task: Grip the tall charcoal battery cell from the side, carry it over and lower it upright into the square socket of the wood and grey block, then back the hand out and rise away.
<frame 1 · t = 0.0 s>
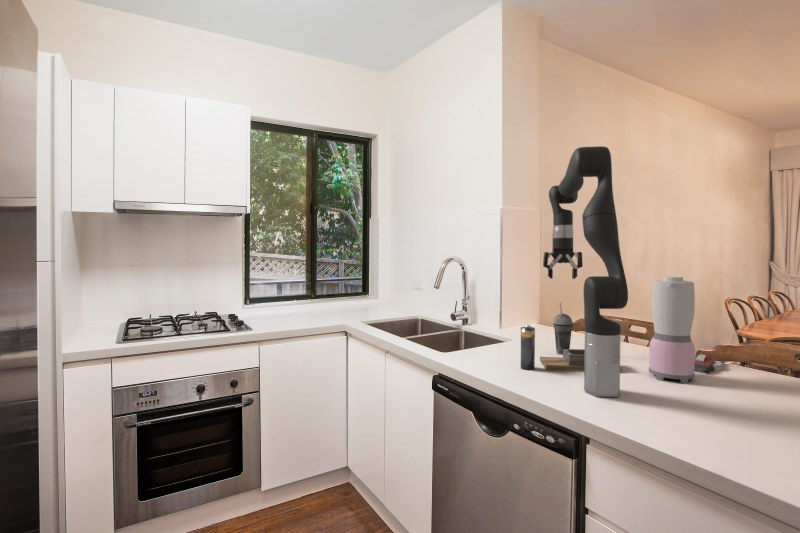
hand: (562, 278, 163), 29 cm above the countertop, tool pointing down, fingers open, 8 cm apart
beverage cup: (562, 353, 164), on the countertop
blender: (670, 376, 134), on the countertop
cell: (527, 368, 144), on the countertop
wood and grey block: (578, 366, 146), on the countertop
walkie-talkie: (706, 368, 144), on the countertop
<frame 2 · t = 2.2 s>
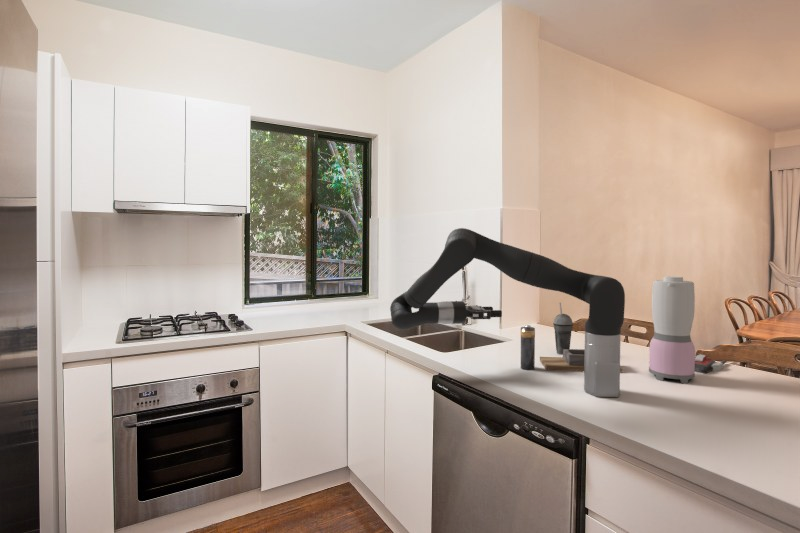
hand: (496, 311, 142), 20 cm above the countertop, tool horizontal, fingers open, 8 cm apart
nothing on the countertop moved.
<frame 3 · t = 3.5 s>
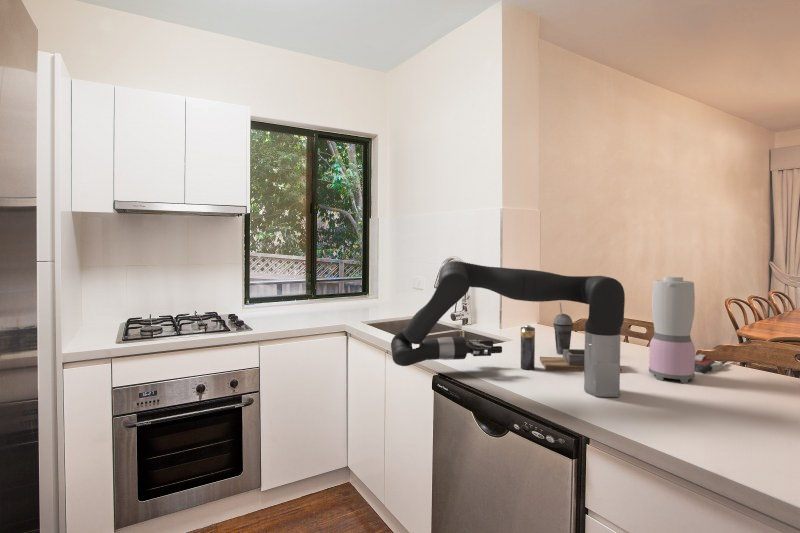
hand: (497, 346, 142), 8 cm above the countertop, tool horizontal, fingers open, 8 cm apart
nothing on the countertop moved.
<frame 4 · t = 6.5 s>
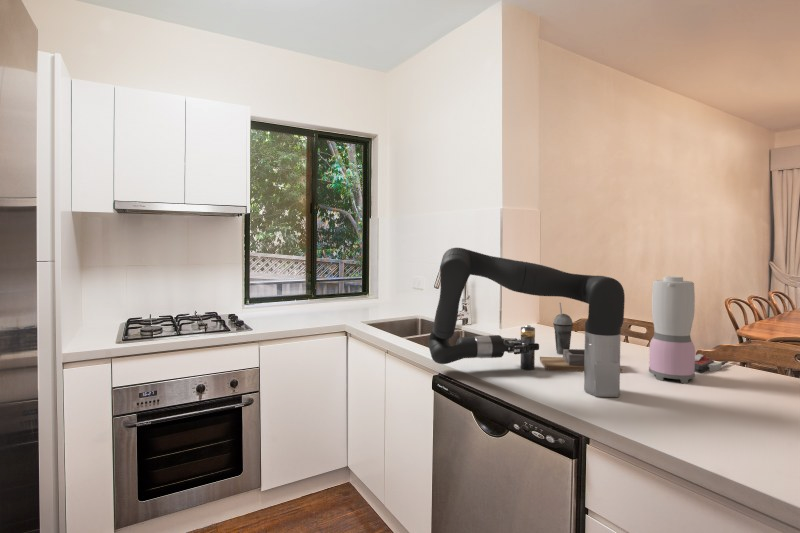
hand: (534, 344, 144), 8 cm above the countertop, tool horizontal, fingers closed on cell, 4 cm apart
cell: (527, 368, 144), on the countertop, touching gripper
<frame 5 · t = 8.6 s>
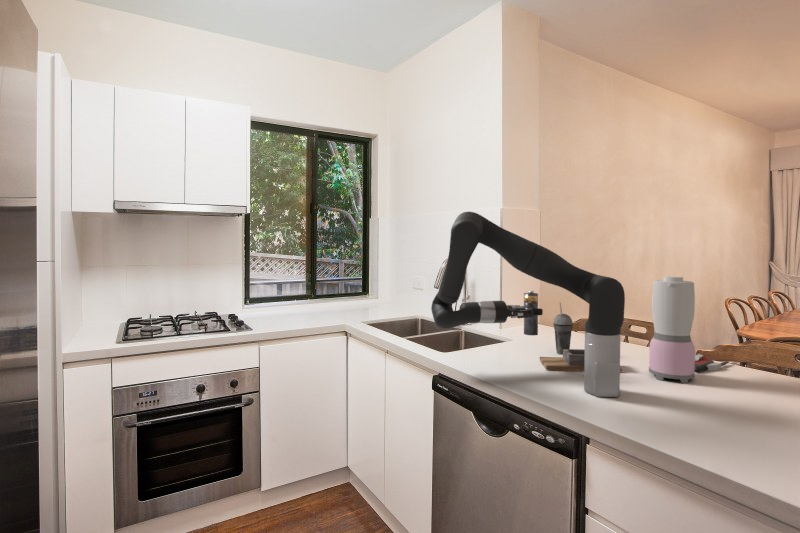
hand: (538, 310, 144), 20 cm above the countertop, tool horizontal, fingers closed on cell, 4 cm apart
cell: (530, 334, 144), point 12 cm above the countertop, touching gripper
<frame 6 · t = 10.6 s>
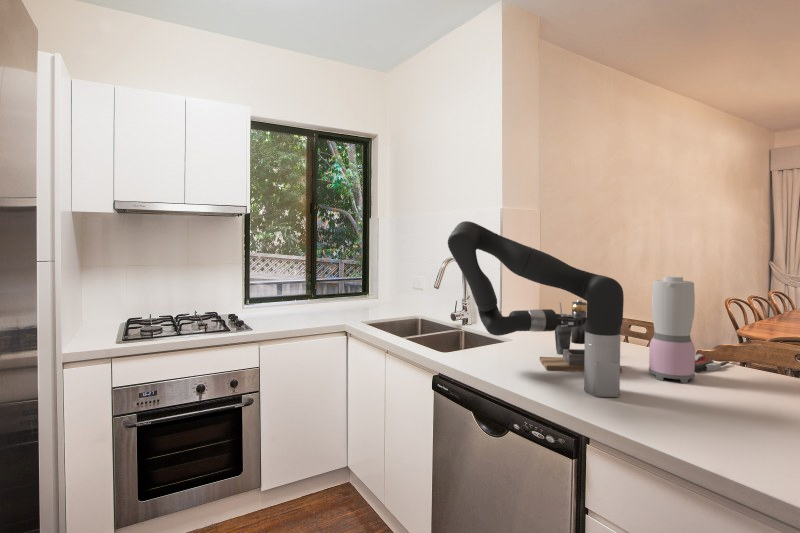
hand: (586, 319, 145), 16 cm above the countertop, tool horizontal, fingers closed on cell, 4 cm apart
cell: (578, 342, 145), point 8 cm above the countertop, touching gripper
when the fingers open (11 cm above the countertop, at t = 12.2 s): cell drops 1 cm, resting on wood and grey block.
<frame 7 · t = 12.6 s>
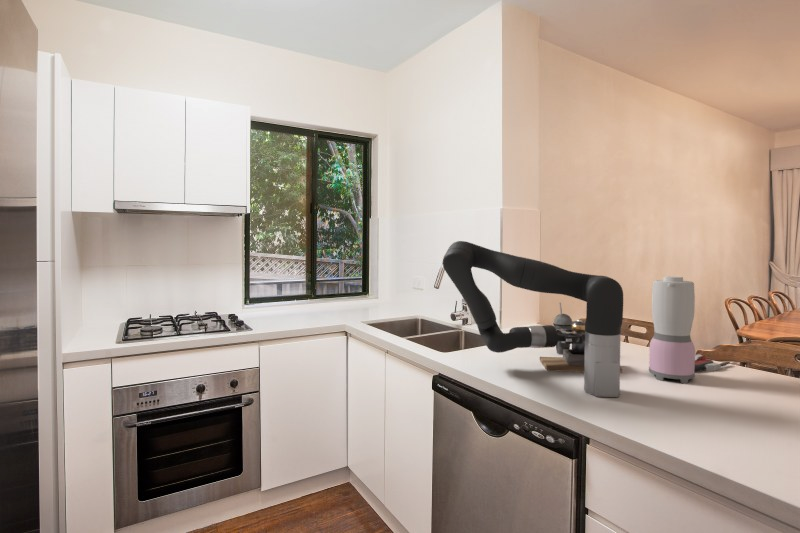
hand: (584, 334, 145), 11 cm above the countertop, tool horizontal, fingers open, 8 cm apart
cell: (578, 362, 146), point 2 cm above the countertop, touching wood and grey block
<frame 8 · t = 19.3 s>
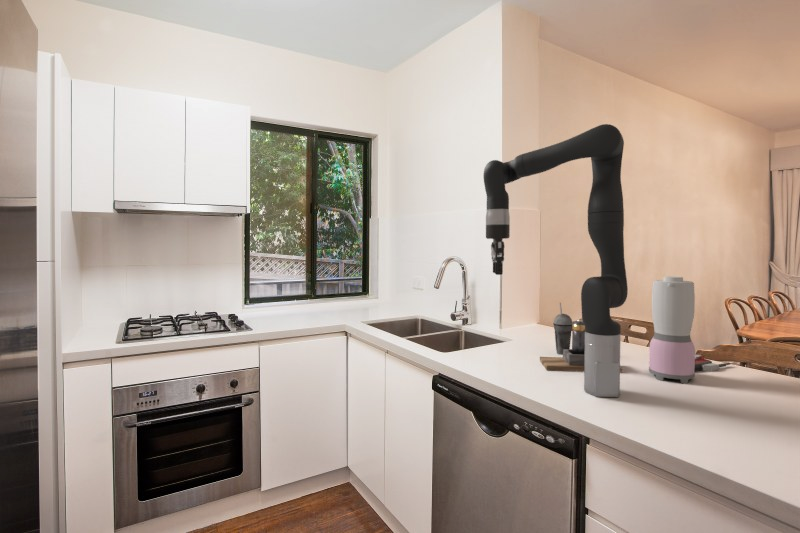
hand: (497, 273, 136), 33 cm above the countertop, tool pointing down, fingers open, 8 cm apart
at the end: cell 0.1 cm off-centre on the wood and grey block, point 1.5 cm above the wood and grey block's base; cell tilted 0°; the gripper is holding nothing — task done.
